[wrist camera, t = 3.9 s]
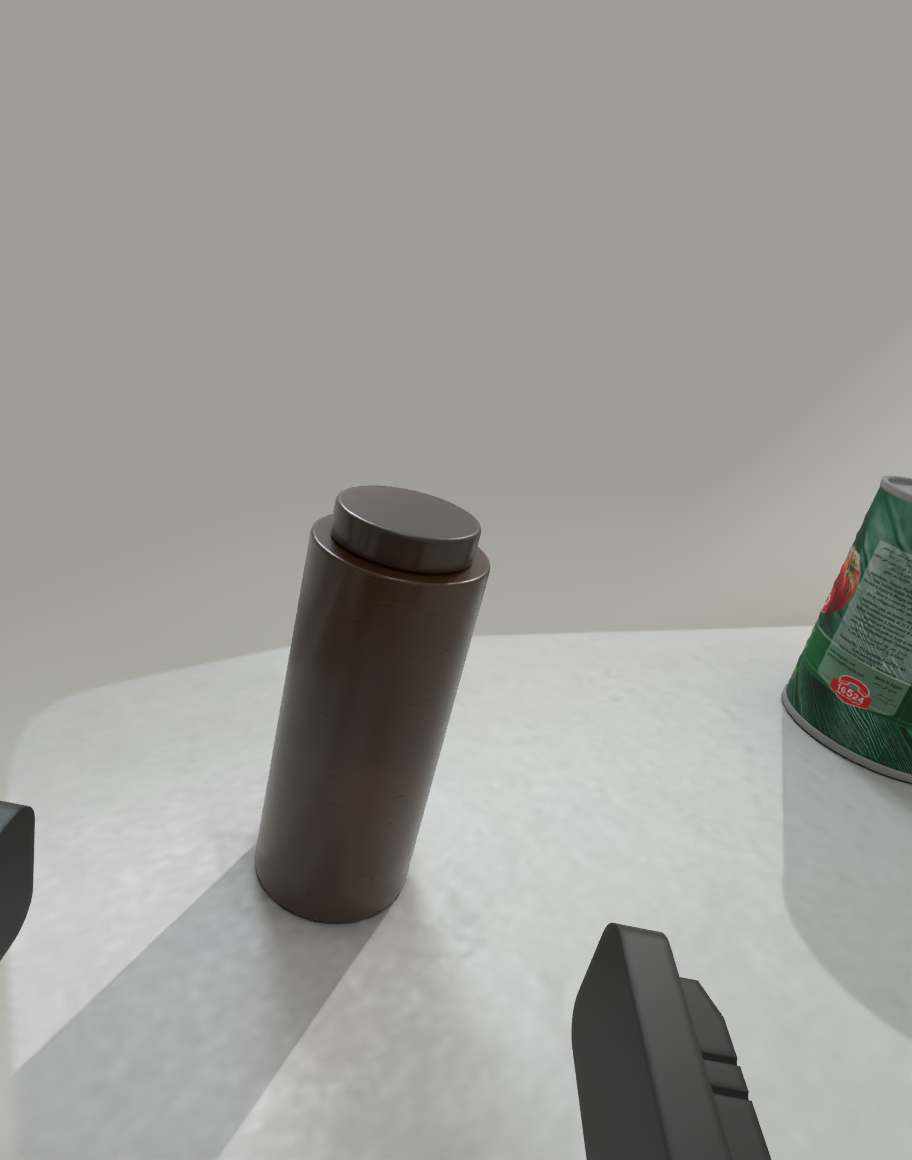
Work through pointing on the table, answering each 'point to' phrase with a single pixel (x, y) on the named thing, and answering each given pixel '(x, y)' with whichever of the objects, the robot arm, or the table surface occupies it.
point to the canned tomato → (865, 646)
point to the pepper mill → (367, 698)
